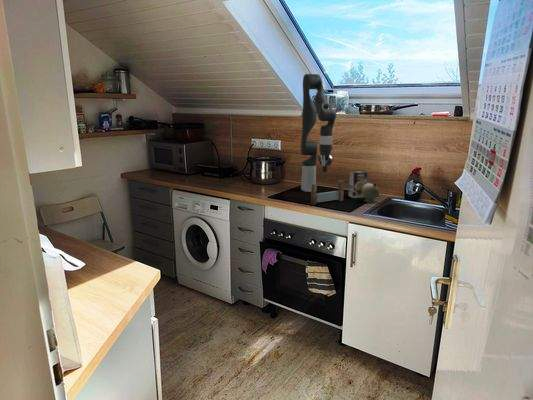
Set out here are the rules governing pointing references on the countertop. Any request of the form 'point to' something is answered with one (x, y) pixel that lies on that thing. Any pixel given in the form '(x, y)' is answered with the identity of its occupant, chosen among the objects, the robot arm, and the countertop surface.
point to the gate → (327, 196)
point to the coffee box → (357, 183)
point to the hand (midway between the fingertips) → (324, 172)
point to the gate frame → (314, 190)
